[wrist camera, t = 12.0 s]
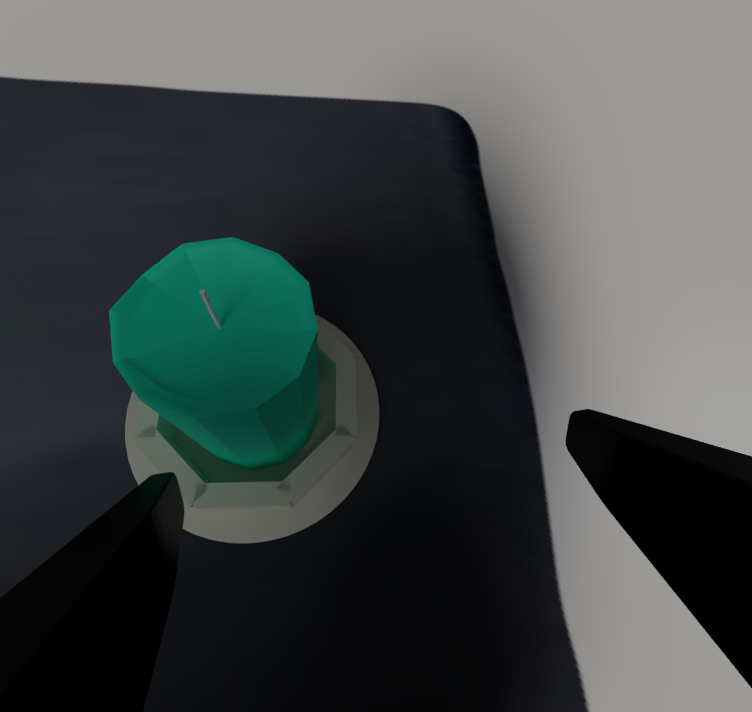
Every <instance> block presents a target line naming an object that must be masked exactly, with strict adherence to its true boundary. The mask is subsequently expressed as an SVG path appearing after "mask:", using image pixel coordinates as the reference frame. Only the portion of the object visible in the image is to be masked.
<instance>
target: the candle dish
mask: <svg viewBox="0 0 752 712" xmlns="http://www.w3.org/2000/svg"><path fill="white" fill-rule="evenodd" d="M315 318H316V324H317V329H318V417H317V419H316V422H315V425H314V428H313V430H312V433H311V436H310V438H309V441H308V444H307V445H305V446H304V447H303V448H302V449H301V450H300V451H298V452H297V453H296V454H295V455H294V456H293V457H291V458H290V459H289V460H288V461H287V462H285V463H284V464H282V465H277V466H273V467H268V468H263V469H258V470H254V471H251V470H248V469H245V468H242V467H239V466H236V465H233V464H230V463H227V462H224V461H222V460H221V459H219V458H218V457H217V456H215V455H214V454H213V453H211V452H210V451H208V450H207V449H206V448H204V447H203V446H202V445H200V444H199V443H198V442H196V441H195V440H193V439H192V438H191V437H189V436H188V435H187V434H185V433H184V432H183V431H181V430H180V429H179V428H177V427H176V426H174V425H173V424H172V423H170V422H169V421H168V420H166V419H165V418H164V417H162V416H161V415H159V414H158V413H157V412H155V411H154V410H153V409H151V408H150V407H149V406H147V405H146V404H145V403H143V402H142V401H140V400H139V399H138V397H137V396H136V394H135V393H134V392H132V395H131V398H130V402H129V405H128V409H127V416H126V423H125V443H126V449H127V455H128V460H129V463H130V466H131V469H132V472H133V475H134V477H135V479H136V481H137V483H138V485H140V484H141V483H142V482H143V481H144V480H146V479H147V478H148V477H149V476H151V475H153V474H159V473H166V472H173V473H175V475H176V477H177V480H178V484H179V487H180V491H181V495H182V499H183V502H184V521H183V529H185V530H187V531H189V532H191V533H193V534H195V535H198V536H201V537H204V538H207V539H210V540H215V541H221V542H227V543H256V542H265V541H270V540H274V539H278V538H282V537H286V536H289V535H291V534H294V533H296V532H299V531H301V530H304V529H305V528H307V527H309V526H311V525H313V524H314V523H316V522H318V521H319V520H321V519H322V518H323V517H325V516H326V515H327V514H329V513H330V512H332V511H333V510H334V509H335V508H336V507H337V506H338V505H339V504H340V503H341V502H342V501H343V500H344V499H345V498H346V497H347V495H348V494H349V493H350V492H351V491H352V489H353V488H354V487H355V486H356V484H357V483H358V481H359V479H360V478H361V476H362V475H363V473H364V471H365V469H366V467H367V465H368V463H369V461H370V458H371V456H372V453H373V450H374V447H375V443H376V440H377V434H378V428H379V401H378V393H377V389H376V385H375V381H374V378H373V376H372V373H371V371H370V368H369V366H368V364H367V362H366V361H365V359H364V357H363V355H362V354H361V352H360V351H359V350H358V348H357V347H356V346H355V344H354V343H353V342H352V341H351V340H350V339H349V338H348V337H347V336H346V335H345V334H344V333H343V332H342V331H341V330H339V329H338V328H337V327H336V326H334V325H333V324H331V323H330V322H328V321H327V320H325V319H323V318H322V317H319V316H317V315H315Z"/></svg>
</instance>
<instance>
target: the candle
mask: <svg viewBox="0 0 752 712" xmlns="http://www.w3.org/2000/svg"><path fill="white" fill-rule="evenodd" d="M109 315H110V329H111V342H112V355H113V364H114V365H115V366H116V368H117V369H118V371H119V372H120V373H121V375H122V376H123V378H124V379H125V380H126V382H127V383H128V385H129V386H130V387H131V389H132V390H133V392H134V393H135V394H136V396H137V397H138V399H139V400H140V401H142V402H143V403H145V404H146V405H147V406H149V407H150V408H151V409H153V410H154V411H155V412H157V413H158V414H159V415H161V416H162V417H164V418H165V419H166V420H168V421H169V422H170V423H172V424H173V425H174V426H176V427H177V428H179V429H180V430H181V431H183V432H184V433H185V434H187V435H188V436H189V437H191V438H192V439H193V440H195V441H196V442H198V443H199V444H200V445H202V446H203V447H204V448H206V449H207V450H208V451H210V452H211V453H213V454H214V455H215V456H217V457H218V458H219V459H221V460H222V461H224V462H227V463H230V464H233V465H236V466H239V467H242V468H245V469H248V470H251V471H254V470H258V469H263V468H268V467H273V466H277V465H282V464H284V463H285V462H287V461H288V460H289V459H290V458H291V457H293V456H294V455H295V454H296V453H297V452H298V451H300V450H301V449H302V448H303V447H304V446H305V445H307V444H308V441H309V438H310V436H311V433H312V430H313V428H314V425H315V422H316V419H317V417H318V329H317V324H316V318H315V313H314V307H313V302H312V296H311V291H310V285H309V282H308V281H307V280H306V279H305V278H304V277H303V276H302V275H301V274H300V273H299V272H297V271H296V270H295V269H294V268H293V267H292V266H291V265H290V264H289V263H288V262H287V261H286V260H285V259H284V258H283V257H282V256H281V255H280V254H279V253H276V252H273V251H270V250H268V249H265V248H262V247H259V246H256V245H254V244H251V243H248V242H245V241H242V240H239V239H237V238H234V237H230V238H222V239H215V240H207V241H199V242H192V243H184V244H182V245H180V246H179V247H178V248H176V249H175V250H174V251H173V252H171V253H170V254H169V255H167V256H166V257H165V258H163V259H162V260H161V261H160V262H158V263H157V264H156V265H154V266H153V267H152V268H150V269H149V270H148V271H146V272H145V273H144V274H143V275H141V276H140V278H139V279H138V280H137V281H136V282H135V283H134V284H133V285H132V286H131V287H130V288H129V290H128V291H127V292H126V293H125V294H124V295H123V296H122V297H121V298H120V299H119V300H118V302H117V303H116V304H115V305H114V306H113V307H112V308H111V309H110V310H109Z"/></svg>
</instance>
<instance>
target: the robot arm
mask: <svg viewBox="0 0 752 712" xmlns="http://www.w3.org/2000/svg"><path fill="white" fill-rule="evenodd" d="M566 447H567V449H568V451H569V453H570V454H571V456H572V457H573V459H574V460H575V462H576V463H577V465H578V466H579V468H580V469H581V471H582V472H583V474H584V475H585V477H586V478H587V480H588V481H589V483H590V484H591V486H592V487H593V489H594V490H595V492H596V493H597V495H598V496H599V498H600V499H601V500H602V502H603V503H604V505H605V506H606V507H607V509H608V510H609V511H610V512H611V514H612V515H613V516H614V517H615V519H616V520H617V521H618V522H619V524H620V525H621V526H622V527H623V529H624V530H625V531H626V532H627V534H628V535H629V536H630V537H631V538H632V540H633V541H634V542H635V543H636V545H637V546H638V547H639V549H640V550H641V551H642V552H643V553H644V555H645V556H646V557H647V558H648V560H649V561H650V562H651V563H652V565H653V566H654V567H655V568H656V570H657V571H658V572H659V573H660V575H661V576H662V577H663V578H664V580H665V581H666V582H667V583H668V585H669V586H670V587H671V588H672V590H673V591H674V592H675V593H676V594H677V596H678V597H679V598H680V599H681V601H682V602H683V603H684V604H685V605H686V607H687V608H688V609H689V611H690V612H691V613H692V614H693V616H694V617H695V618H696V619H697V621H698V622H699V623H700V624H701V626H702V627H703V628H704V629H705V631H706V632H707V633H708V634H709V635H710V637H711V638H712V639H713V641H714V642H715V643H716V644H717V645H718V647H719V648H720V649H721V650H722V652H723V653H724V654H725V655H726V657H727V658H728V659H729V660H730V662H731V663H732V664H733V665H734V666H735V668H736V669H737V670H738V671H739V673H740V674H741V675H742V677H743V678H744V679H745V680H746V682H747V683H748V684H749V685H750V686H751V688H752V457H751V456H748V455H745V454H741V453H738V452H734V451H731V450H728V449H724V448H721V447H717V446H714V445H710V444H707V443H704V442H700V441H697V440H693V439H690V438H686V437H683V436H680V435H676V434H673V433H669V432H666V431H663V430H659V429H656V428H652V427H649V426H645V425H642V424H639V423H635V422H632V421H628V420H625V419H621V418H618V417H615V416H611V415H608V414H604V413H601V412H597V411H594V410H590V409H585V410H580V411H574V412H573V413H572V414H571V415H570V418H569V424H568V429H567V435H566ZM183 521H184V502H183V499H182V495H181V491H180V487H179V484H178V480H177V477H176V475H175V473H173V472H166V473H159V474H153V475H151V476H149V477H148V478H147V479H146V480H144V481H143V482H142V483H141V484H140V485H138V486H137V487H136V488H135V489H133V490H132V491H131V492H130V493H129V494H127V495H126V496H125V497H124V498H122V499H121V500H120V501H119V502H118V503H116V504H115V505H114V506H113V507H111V508H110V509H109V510H108V511H107V512H105V513H104V514H103V515H102V516H100V517H99V518H98V519H97V520H96V521H94V522H93V523H92V524H91V525H89V526H88V527H87V528H86V529H84V530H83V531H82V532H81V533H80V534H78V535H77V536H76V537H75V538H73V539H72V540H71V541H70V542H69V543H67V544H66V545H65V546H64V547H62V548H61V549H60V550H59V551H58V552H56V553H55V554H54V555H53V556H51V557H50V558H49V559H48V560H47V561H45V562H44V563H43V564H42V565H40V566H39V567H38V568H37V569H36V570H34V571H33V572H32V573H31V574H29V575H28V576H27V577H26V578H25V579H23V580H22V581H21V582H20V583H18V584H17V585H16V586H15V587H14V588H12V589H11V590H10V591H9V592H7V593H6V594H5V595H4V596H2V597H1V598H0V712H143V709H144V705H145V701H146V697H147V693H148V689H149V685H150V681H151V677H152V674H153V670H154V666H155V662H156V658H157V654H158V650H159V646H160V642H161V639H162V635H163V631H164V627H165V623H166V619H167V615H168V611H169V607H170V604H171V599H172V595H173V591H174V585H175V579H176V572H177V565H178V558H179V551H180V543H181V536H182V529H183Z"/></svg>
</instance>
